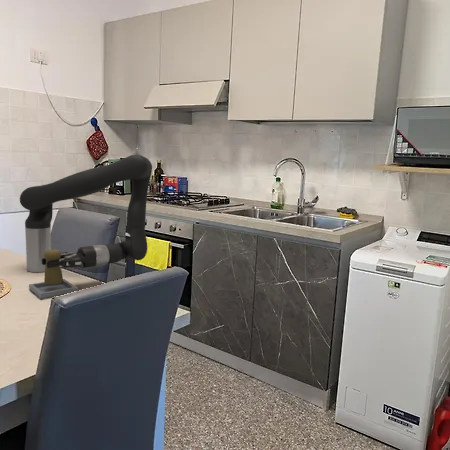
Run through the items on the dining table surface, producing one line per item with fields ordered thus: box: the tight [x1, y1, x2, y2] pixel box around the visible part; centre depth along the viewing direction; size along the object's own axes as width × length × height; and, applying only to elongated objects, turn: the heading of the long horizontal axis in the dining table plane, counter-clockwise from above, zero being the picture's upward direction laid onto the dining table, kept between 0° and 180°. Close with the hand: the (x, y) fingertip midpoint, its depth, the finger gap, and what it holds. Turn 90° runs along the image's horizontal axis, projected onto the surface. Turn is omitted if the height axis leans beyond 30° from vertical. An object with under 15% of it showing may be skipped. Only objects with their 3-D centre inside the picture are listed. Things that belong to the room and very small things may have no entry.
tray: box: [28, 278, 78, 300], centre depth 150 cm, size 12×12×2 cm
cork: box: [43, 248, 64, 284], centre depth 149 cm, size 6×6×11 cm
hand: (44, 263), depth 147 cm, fingers closed on cork, 4 cm apart
